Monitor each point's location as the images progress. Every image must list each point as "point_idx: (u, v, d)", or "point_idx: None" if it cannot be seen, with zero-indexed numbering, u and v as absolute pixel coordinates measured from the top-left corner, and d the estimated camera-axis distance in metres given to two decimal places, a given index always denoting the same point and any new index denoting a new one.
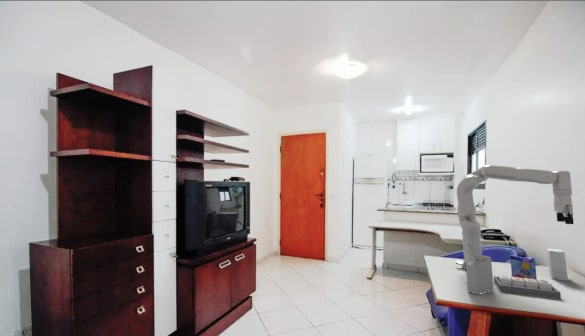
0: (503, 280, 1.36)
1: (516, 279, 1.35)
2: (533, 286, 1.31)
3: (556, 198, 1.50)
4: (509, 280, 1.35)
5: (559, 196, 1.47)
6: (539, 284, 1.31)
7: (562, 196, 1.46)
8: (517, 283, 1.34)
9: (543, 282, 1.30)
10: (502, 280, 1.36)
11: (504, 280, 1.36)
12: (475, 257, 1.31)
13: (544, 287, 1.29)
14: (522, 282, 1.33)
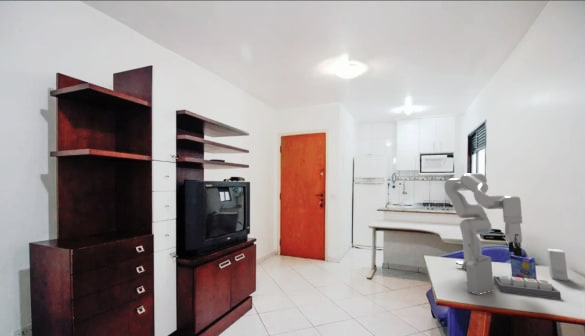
0: (503, 280, 1.36)
1: (516, 279, 1.35)
2: (533, 286, 1.31)
3: (506, 226, 1.38)
4: (509, 280, 1.35)
5: (508, 224, 1.36)
6: (539, 284, 1.31)
7: (511, 224, 1.34)
8: (517, 283, 1.34)
9: (543, 282, 1.30)
10: (502, 280, 1.36)
11: (504, 280, 1.36)
12: (475, 257, 1.31)
13: (544, 287, 1.29)
14: (522, 282, 1.33)
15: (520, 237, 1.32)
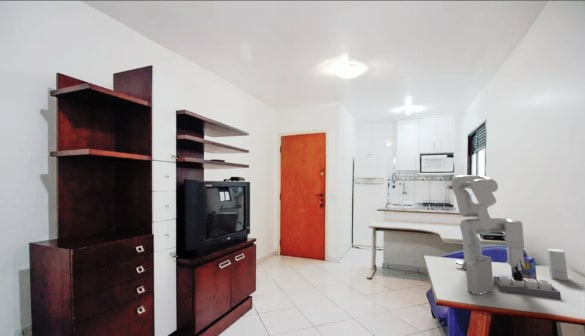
0: (503, 280, 1.36)
1: (516, 281, 1.35)
2: (533, 286, 1.31)
3: (508, 250, 1.37)
4: (509, 280, 1.35)
5: (510, 249, 1.35)
6: (539, 284, 1.31)
7: (513, 249, 1.33)
8: (517, 285, 1.34)
9: (543, 282, 1.30)
10: (502, 280, 1.36)
11: (504, 280, 1.36)
12: (475, 257, 1.31)
13: (544, 287, 1.29)
14: (522, 284, 1.33)
15: (522, 262, 1.31)
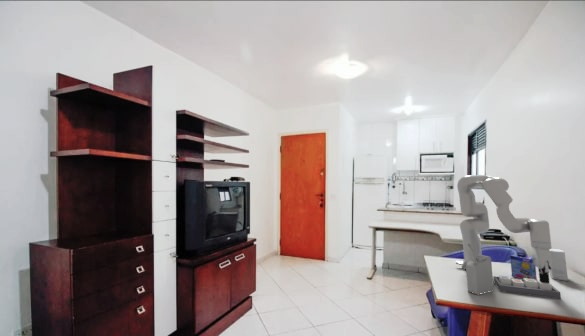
0: (503, 280, 1.36)
1: (516, 281, 1.35)
2: (533, 286, 1.31)
3: (534, 251, 1.33)
4: (509, 280, 1.35)
5: (537, 249, 1.30)
6: (539, 285, 1.31)
7: (540, 250, 1.29)
8: (517, 285, 1.34)
9: (543, 283, 1.30)
10: (502, 280, 1.36)
11: (504, 280, 1.36)
12: (475, 257, 1.31)
13: (544, 288, 1.29)
14: (522, 284, 1.33)
15: (550, 264, 1.26)
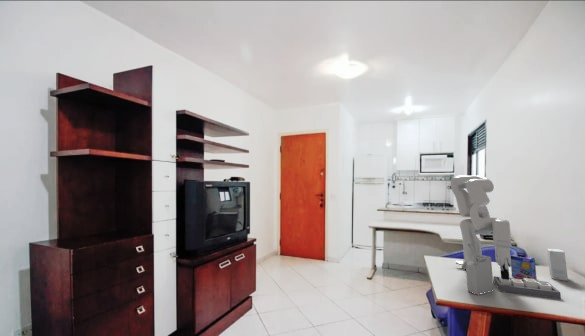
0: (503, 281, 1.36)
1: (516, 281, 1.35)
2: (533, 286, 1.31)
3: (496, 249, 1.40)
4: (509, 281, 1.35)
5: (498, 248, 1.37)
6: (539, 286, 1.31)
7: (500, 248, 1.36)
8: (517, 285, 1.34)
9: (543, 284, 1.30)
10: (502, 281, 1.36)
11: (504, 281, 1.36)
12: (475, 257, 1.31)
13: (544, 289, 1.29)
14: (522, 284, 1.33)
15: (509, 261, 1.33)
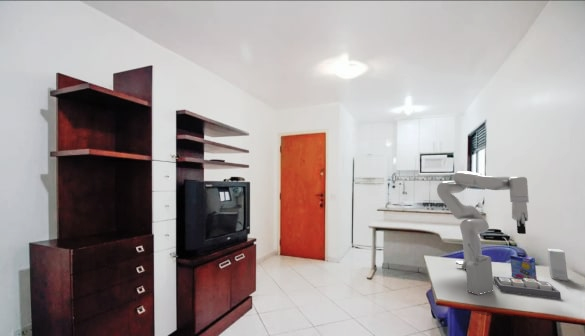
0: (503, 282, 1.36)
1: (516, 281, 1.35)
2: (533, 286, 1.31)
3: (513, 205, 1.43)
4: (509, 282, 1.35)
5: (515, 203, 1.40)
6: (539, 286, 1.31)
7: (518, 203, 1.39)
8: (517, 285, 1.34)
9: (543, 284, 1.30)
10: (502, 282, 1.36)
11: (504, 282, 1.36)
12: (475, 257, 1.31)
13: (544, 289, 1.29)
14: (522, 284, 1.33)
15: (526, 215, 1.37)
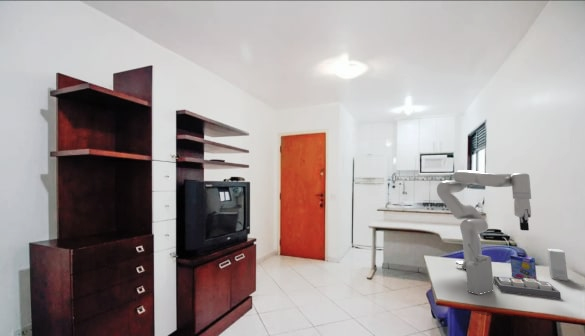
0: (503, 282, 1.36)
1: (516, 281, 1.35)
2: (533, 286, 1.31)
3: (515, 202, 1.43)
4: (509, 282, 1.35)
5: (518, 200, 1.41)
6: (539, 286, 1.31)
7: (520, 200, 1.39)
8: (517, 285, 1.34)
9: (543, 284, 1.30)
10: (502, 282, 1.36)
11: (504, 282, 1.36)
12: (475, 257, 1.31)
13: (544, 289, 1.29)
14: (522, 284, 1.33)
15: (529, 212, 1.37)
